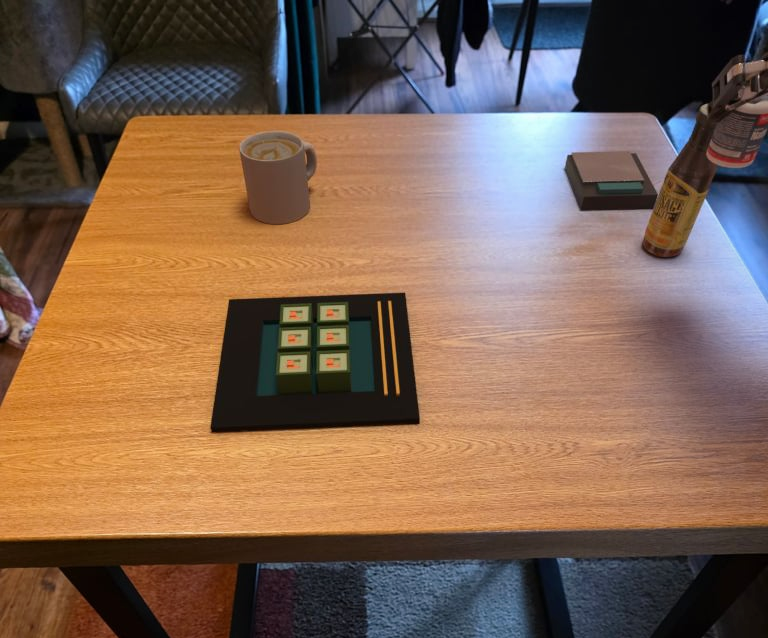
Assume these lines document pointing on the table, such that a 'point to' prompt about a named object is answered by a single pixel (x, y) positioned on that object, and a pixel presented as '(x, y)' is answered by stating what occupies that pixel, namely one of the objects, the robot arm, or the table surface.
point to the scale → (609, 181)
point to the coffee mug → (277, 175)
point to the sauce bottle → (682, 192)
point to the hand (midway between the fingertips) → (736, 112)
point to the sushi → (315, 363)
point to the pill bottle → (739, 135)
